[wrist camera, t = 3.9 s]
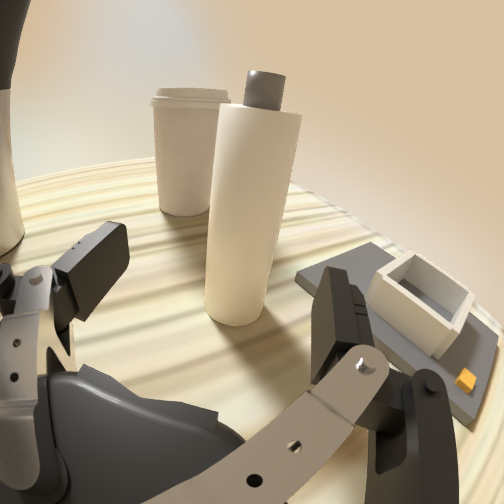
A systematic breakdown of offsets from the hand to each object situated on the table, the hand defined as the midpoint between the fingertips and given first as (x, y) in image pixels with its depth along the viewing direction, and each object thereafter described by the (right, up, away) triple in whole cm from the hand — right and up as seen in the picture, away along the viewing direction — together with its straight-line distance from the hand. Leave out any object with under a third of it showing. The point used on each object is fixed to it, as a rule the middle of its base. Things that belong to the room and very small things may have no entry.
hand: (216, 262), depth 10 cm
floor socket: (+16, -6, +11) cm, 20 cm away
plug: (0, -4, +10) cm, 11 cm away
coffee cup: (-7, +6, +24) cm, 26 cm away
